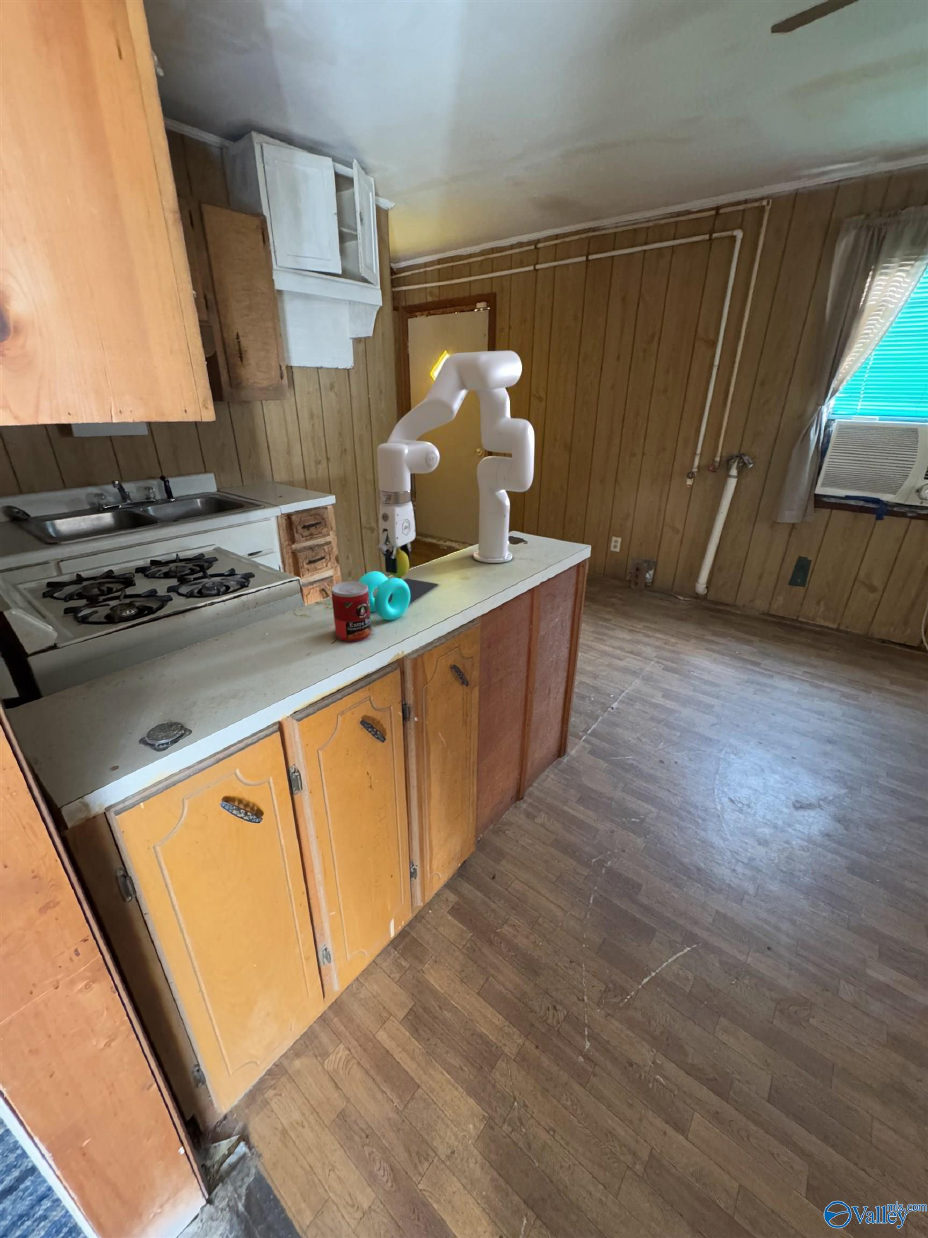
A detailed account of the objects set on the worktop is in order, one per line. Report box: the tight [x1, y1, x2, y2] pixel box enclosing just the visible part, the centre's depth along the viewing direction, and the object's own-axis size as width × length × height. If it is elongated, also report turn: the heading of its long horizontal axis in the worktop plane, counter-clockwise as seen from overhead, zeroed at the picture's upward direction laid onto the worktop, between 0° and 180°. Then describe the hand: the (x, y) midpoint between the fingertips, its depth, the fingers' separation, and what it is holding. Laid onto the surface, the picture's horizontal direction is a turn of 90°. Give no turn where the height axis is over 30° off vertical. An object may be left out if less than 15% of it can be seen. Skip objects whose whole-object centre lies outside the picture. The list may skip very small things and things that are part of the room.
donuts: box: [358, 570, 410, 621], centre depth 118 cm, size 10×10×10 cm
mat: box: [388, 578, 439, 605], centre depth 134 cm, size 18×10×1 cm, turn 155°
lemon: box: [389, 548, 410, 579], centre depth 128 cm, size 6×6×8 cm
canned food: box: [330, 580, 372, 642], centre depth 108 cm, size 8×8×11 cm
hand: (398, 568), depth 128 cm, fingers closed on lemon, 5 cm apart
